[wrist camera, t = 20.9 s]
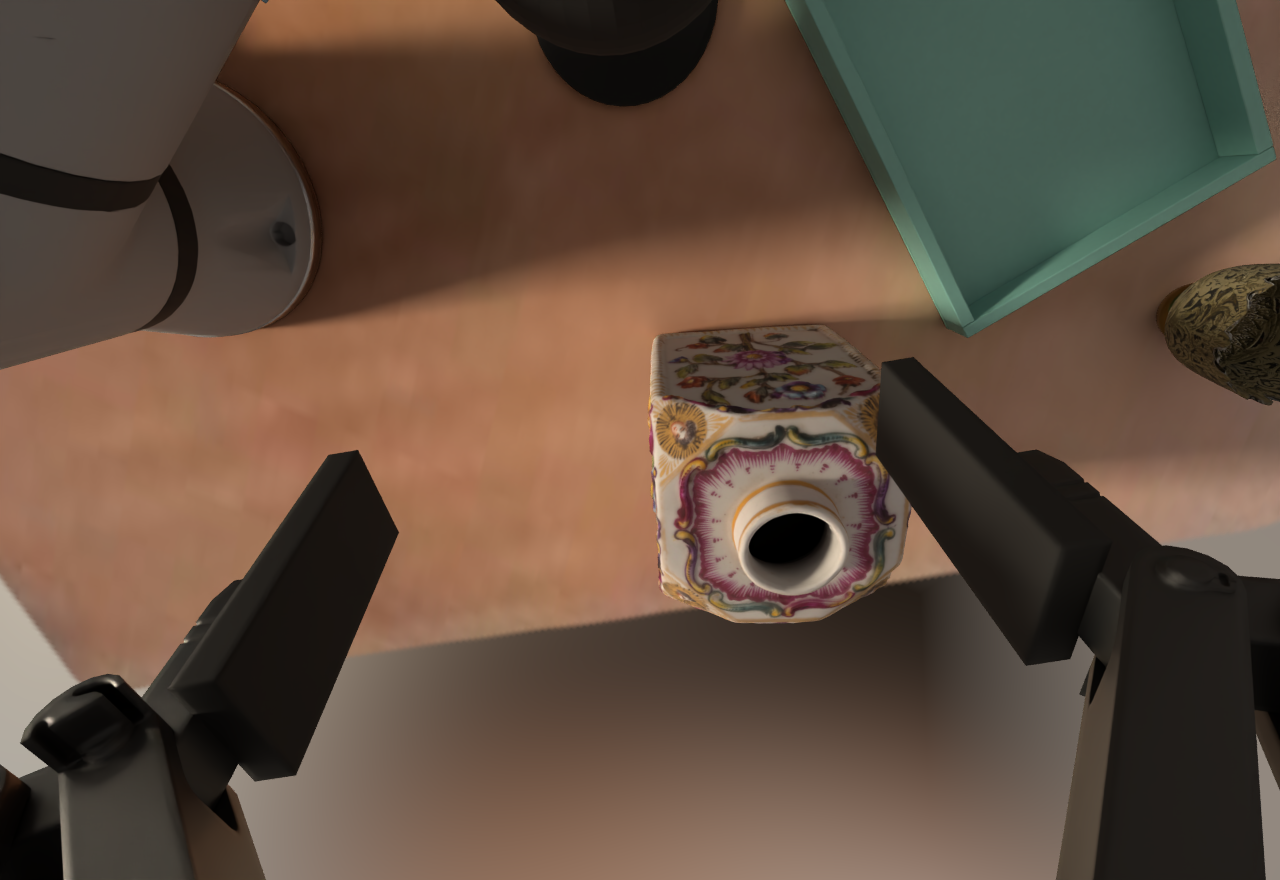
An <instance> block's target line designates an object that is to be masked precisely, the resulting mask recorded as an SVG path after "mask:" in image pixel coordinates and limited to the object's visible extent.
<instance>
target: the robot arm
mask: <svg viewBox="0 0 1280 880" xmlns="http://www.w3.org/2000/svg"><path fill="white" fill-rule="evenodd" d="M262 1H263V2H264V3H267V2H268V1H269V0H262ZM258 2H259V0H0V370H1V369H4V368H8V367H11V366H15V365H18V364H22V363H26V362H29V361H33V360H36V359H40V358H43V357H47V356H51V355H54V354H58V353H61V352H65V351H68V350H72V349H76V348H79V347H83V346H86V345H90V344H93V343H97V342H101V341H104V340H108V339H111V338H115V337H118V336H122V335H125V334H128V333H132V332H136V331H140V330H141V331H151V332H161V333H172V334H184V335H189V336H196V337H223V336H232V335H238V334H243V333H247V332H250V331H254V330H256V329H259V328H262V327H265V326H267V325H270V324H272V323H274V322H276V321H278V320H280V319H281V318H283V317H284V316H286V315H287V314H288V313H290V312H291V311H292V310H293V309H294V308H295V307H296V306H297V305H298V304H299V303H300V302H301V300H302V299H303V298H304V297H305V295H306V294H307V292H308V291H309V289H310V287H311V285H312V283H313V281H314V279H315V276H316V273H317V270H318V266H319V262H320V258H321V250H322V223H321V216H320V210H319V206H318V202H317V198H316V194H315V191H314V188H313V185H312V183H311V180H310V178H309V176H308V173H307V171H306V169H305V167H304V165H303V163H302V161H301V160H300V158H299V156H298V154H297V153H296V151H295V150H294V148H293V147H292V145H291V144H290V142H289V141H288V140H287V138H286V137H285V136H284V134H283V133H282V132H281V131H280V130H279V128H278V127H277V126H276V125H275V124H274V123H273V122H272V121H271V120H270V119H269V118H268V117H267V116H266V115H265V114H264V113H263V112H262V111H261V110H260V109H259V108H258V107H256V106H255V105H254V104H253V103H252V102H250V101H249V100H248V99H246V98H245V97H243V96H242V95H241V94H239V93H238V92H236V91H234V90H233V89H231V88H229V87H227V86H226V85H224V84H222V83H220V82H217V81H215V80H216V78H217V76H218V75H219V73H220V71H221V69H222V67H223V65H224V64H225V62H226V60H227V58H228V56H229V55H230V53H231V51H232V49H233V47H234V46H235V44H236V42H237V40H238V38H239V37H240V35H241V33H242V31H243V29H244V28H245V26H246V24H247V22H248V20H249V19H250V17H251V15H252V13H253V11H254V9H255V8H256V6H257V4H258ZM876 457H877V458H878V459H879V461H880V462H881V464H882V465H883V466H884V468H885V469H886V471H887V472H888V473H889V475H890V476H891V478H892V479H893V480H894V482H895V483H896V485H897V486H898V487H899V489H900V490H901V492H902V493H903V494H904V496H905V497H906V499H907V500H908V501H909V503H910V504H911V506H912V507H913V508H914V510H915V511H916V513H917V514H918V515H919V517H920V518H921V520H922V521H923V522H924V524H925V525H926V527H927V528H928V529H929V531H930V532H931V534H932V535H933V536H934V538H935V539H936V541H937V542H938V543H939V545H940V546H941V548H942V549H943V550H944V552H945V553H946V555H947V556H948V557H949V559H950V560H951V562H952V563H953V564H954V566H955V567H956V569H957V570H958V571H959V573H960V574H961V576H962V577H963V578H964V580H965V581H966V583H967V584H968V585H969V587H970V588H971V590H972V591H973V592H974V593H975V595H976V597H977V598H978V599H979V601H980V602H981V604H982V605H983V606H984V608H985V609H986V611H987V612H988V613H989V615H990V616H991V617H992V619H993V620H994V622H995V623H996V624H997V626H998V627H999V629H1000V630H1001V632H1002V633H1003V634H1004V636H1005V637H1006V639H1007V640H1008V641H1009V643H1010V644H1011V646H1012V647H1013V648H1014V650H1015V651H1016V652H1017V654H1018V655H1019V657H1020V658H1021V660H1022V661H1023V662H1024V664H1025V665H1026V666H1027V665H1034V664H1041V663H1047V662H1054V661H1060V660H1067V659H1070V658H1071V656H1072V653H1073V650H1074V647H1075V645H1076V642H1077V639H1078V636H1080V638H1081V639H1082V640H1083V641H1084V642H1085V644H1086V645H1087V646H1088V647H1089V648H1090V649H1091V651H1092V652H1093V653H1094V654H1095V656H1094V658H1093V661H1092V664H1091V666H1090V668H1089V671H1088V674H1087V676H1086V679H1085V681H1084V684H1083V686H1082V689H1081V692H1080V695H1082V696H1085V702H1084V708H1083V715H1082V722H1081V727H1080V733H1079V740H1078V746H1077V752H1076V758H1075V765H1074V771H1073V777H1072V783H1071V790H1070V796H1069V802H1068V809H1067V815H1066V821H1065V827H1064V833H1063V839H1062V846H1061V852H1060V858H1059V865H1058V871H1057V877H1056V880H1266V877H1265V862H1264V846H1263V831H1262V816H1261V801H1260V786H1259V770H1258V755H1257V740H1256V734H1257V736H1258V739H1259V742H1260V744H1261V746H1262V749H1263V751H1264V753H1265V756H1266V758H1267V761H1268V763H1269V765H1270V768H1271V770H1272V773H1273V775H1274V777H1275V780H1276V782H1277V784H1278V787H1279V789H1280V579H1271V578H1259V577H1246V576H1237V575H1236V574H1235V573H1234V572H1233V571H1232V570H1231V569H1230V568H1229V567H1228V566H1226V565H1224V564H1223V563H1221V562H1219V561H1217V560H1215V559H1214V558H1212V557H1210V556H1208V555H1205V554H1202V553H1199V552H1196V551H1193V550H1190V549H1187V548H1179V547H1173V546H1162V545H1161V544H1159V543H1158V542H1157V541H1156V540H1155V539H1154V538H1152V537H1151V536H1150V535H1149V534H1148V533H1147V532H1145V531H1144V530H1143V529H1142V528H1141V527H1140V526H1138V525H1137V524H1136V523H1135V522H1134V521H1132V520H1131V519H1130V518H1129V517H1128V516H1127V515H1125V514H1124V513H1123V512H1122V511H1121V510H1120V509H1118V508H1117V507H1116V506H1115V505H1114V504H1112V503H1111V502H1110V501H1109V500H1108V499H1107V498H1105V497H1104V496H1100V492H1098V491H1097V490H1096V489H1095V488H1094V487H1092V486H1091V485H1090V484H1089V483H1088V482H1084V479H1083V478H1082V477H1081V476H1080V475H1078V474H1077V473H1076V472H1075V471H1074V470H1072V469H1071V468H1070V467H1069V466H1068V465H1067V464H1065V463H1064V462H1062V461H1060V460H1058V459H1056V458H1054V457H1052V456H1049V455H1047V454H1045V453H1043V452H1041V451H1039V450H1031V451H1025V452H1019V453H1017V452H1015V451H1014V450H1013V449H1012V448H1011V447H1010V446H1009V445H1008V444H1007V443H1006V442H1005V441H1004V440H1002V439H1001V438H1000V437H999V436H998V435H997V434H996V433H995V432H994V431H993V430H992V429H991V428H989V427H988V426H987V425H986V424H985V423H984V422H983V421H982V420H981V419H980V418H979V417H978V416H976V415H975V414H974V413H973V412H972V411H971V410H970V409H969V408H968V407H967V406H966V405H965V404H963V403H962V402H961V401H960V400H959V399H958V398H957V397H956V396H955V395H954V394H953V393H952V392H950V391H949V390H948V389H947V388H946V387H945V386H944V385H943V384H942V383H941V382H940V381H939V380H937V379H936V378H935V377H934V376H933V375H932V374H931V373H930V372H929V371H928V370H927V369H926V368H924V367H923V366H922V365H921V364H920V363H919V362H918V361H917V360H916V359H915V358H914V357H911V358H905V359H899V360H893V361H887V362H882V367H881V382H880V396H879V411H878V426H877V440H876ZM398 533H399V532H398V530H397V528H396V526H395V524H394V522H393V520H392V518H391V516H390V514H389V512H388V510H387V508H386V506H385V504H384V502H383V500H382V497H381V495H380V493H379V491H378V489H377V487H376V485H375V483H374V481H373V479H372V477H371V475H370V473H369V471H368V469H367V467H366V465H365V463H364V461H363V459H362V457H361V455H360V453H359V451H358V450H356V451H350V452H344V453H338V454H332V455H328V456H327V458H326V459H325V461H324V462H323V464H322V465H321V467H320V468H319V469H318V471H317V472H316V474H315V475H314V477H313V478H312V480H311V481H310V482H309V484H308V485H307V487H306V488H305V490H304V491H303V493H302V494H301V496H300V497H299V498H298V500H297V501H296V503H295V504H294V506H293V507H292V509H291V510H290V512H289V513H288V514H287V516H286V517H285V519H284V520H283V522H282V523H281V525H280V526H279V527H278V529H277V530H276V532H275V533H274V535H273V536H272V538H271V539H270V541H269V542H268V543H267V545H266V546H265V548H264V549H263V551H262V552H261V554H260V555H259V556H258V558H257V559H256V561H255V562H254V564H253V565H252V567H251V568H250V570H249V571H248V572H247V574H246V575H245V577H244V578H243V579H242V580H236V581H233V582H232V583H231V584H230V585H229V586H228V587H227V588H225V589H224V590H223V591H222V592H221V593H220V594H219V595H218V596H216V597H215V598H214V599H213V600H212V601H211V602H210V604H209V605H208V606H207V608H206V609H205V611H204V612H203V613H202V615H201V616H200V617H199V619H198V620H197V622H196V623H197V625H196V626H193V627H192V629H191V630H190V631H189V633H188V634H187V636H186V637H185V638H184V643H183V644H180V645H179V647H178V648H177V649H176V651H175V652H174V654H173V655H172V656H171V658H170V659H169V661H168V662H167V663H166V665H165V666H164V667H163V669H162V670H161V672H160V673H159V674H158V676H157V677H156V679H155V680H154V681H153V683H152V684H151V686H150V687H149V688H148V690H147V691H146V692H145V694H144V695H143V697H142V698H141V697H140V696H139V695H138V694H137V693H136V692H135V691H134V690H133V689H132V688H131V687H130V686H129V685H128V684H127V683H126V682H125V681H124V680H123V679H122V678H121V677H120V676H119V675H112V674H106V675H101V676H97V677H93V678H90V679H88V680H86V681H84V682H82V683H79V684H77V685H75V686H73V687H71V688H70V689H68V690H67V691H65V692H64V693H62V694H61V695H59V696H58V697H56V698H55V699H53V700H52V701H51V702H50V703H49V704H48V705H46V706H45V707H44V708H43V709H42V710H41V711H40V712H39V713H38V714H36V716H35V717H34V718H33V720H32V721H31V722H30V724H29V725H28V726H27V728H26V729H25V730H24V734H23V737H22V739H21V742H20V743H21V744H22V745H23V746H24V747H25V748H27V749H28V750H29V751H31V752H32V753H33V754H35V755H36V756H37V757H38V758H39V759H41V760H42V761H43V762H44V763H46V764H47V765H48V766H47V767H45V768H42V769H40V770H38V771H35V772H33V773H30V774H28V775H25V776H23V777H21V778H18V777H16V776H15V775H13V774H12V773H11V772H9V771H8V770H7V769H5V768H4V767H3V766H2V765H0V880H266V879H265V876H264V873H263V870H262V867H261V864H260V861H259V858H258V855H257V852H256V849H255V846H254V844H253V840H252V837H251V835H250V831H249V828H248V825H247V822H246V819H245V817H244V814H243V811H242V808H241V805H240V802H239V799H238V796H237V794H236V793H235V792H234V791H233V789H232V788H231V787H230V786H229V785H228V782H229V780H230V779H231V777H232V775H233V773H234V771H235V769H236V767H237V765H238V764H239V765H240V766H241V767H242V768H243V769H244V770H245V771H246V773H247V774H248V775H249V776H250V777H251V778H252V779H253V780H254V781H261V780H268V779H274V778H282V777H288V776H294V775H296V774H297V771H298V769H299V767H300V764H301V762H302V759H303V757H304V755H305V753H306V750H307V748H308V746H309V743H310V741H311V738H312V736H313V734H314V731H315V729H316V727H317V724H318V722H319V719H320V717H321V715H322V713H323V710H324V708H325V705H326V703H327V701H328V698H329V696H330V694H331V691H332V689H333V687H334V684H335V682H336V680H337V677H338V675H339V672H340V670H341V668H342V665H343V663H344V661H345V658H346V656H347V654H348V651H349V649H350V647H351V644H352V642H353V639H354V637H355V635H356V632H357V630H358V628H359V625H360V623H361V621H362V618H363V616H364V614H365V611H366V609H367V606H368V604H369V602H370V599H371V597H372V595H373V592H374V590H375V588H376V585H377V583H378V581H379V578H380V576H381V573H382V571H383V569H384V566H385V564H386V562H387V559H388V557H389V555H390V552H391V550H392V548H393V545H394V543H395V540H396V538H397V536H398Z"/></svg>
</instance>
